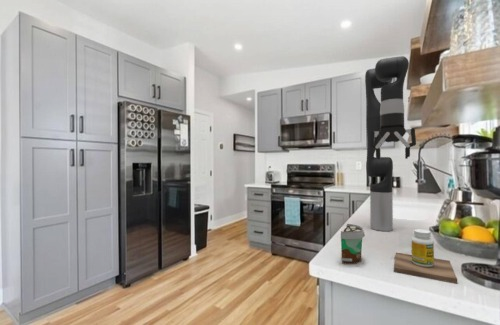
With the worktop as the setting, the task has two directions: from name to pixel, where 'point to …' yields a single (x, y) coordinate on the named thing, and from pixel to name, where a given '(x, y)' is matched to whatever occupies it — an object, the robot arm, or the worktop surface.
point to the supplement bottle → (422, 248)
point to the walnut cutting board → (425, 268)
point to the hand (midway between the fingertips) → (392, 158)
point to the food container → (351, 244)
